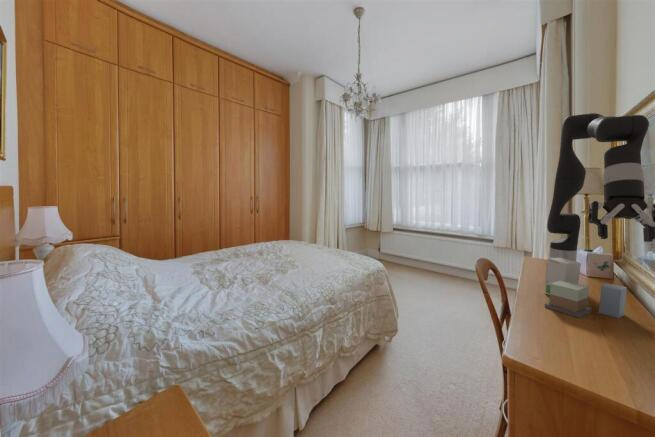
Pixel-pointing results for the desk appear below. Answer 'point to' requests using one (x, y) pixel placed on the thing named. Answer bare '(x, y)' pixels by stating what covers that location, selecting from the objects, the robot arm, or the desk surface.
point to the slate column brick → (612, 300)
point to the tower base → (569, 298)
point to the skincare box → (561, 272)
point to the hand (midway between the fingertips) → (625, 240)
